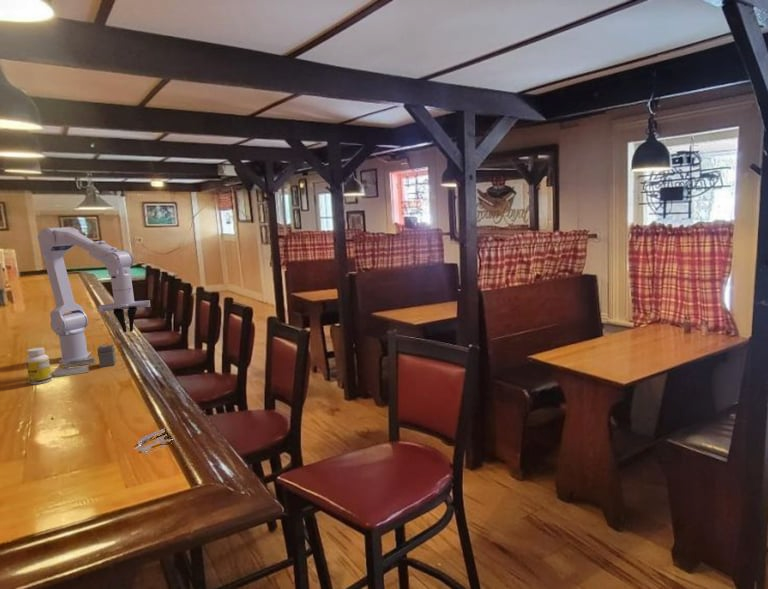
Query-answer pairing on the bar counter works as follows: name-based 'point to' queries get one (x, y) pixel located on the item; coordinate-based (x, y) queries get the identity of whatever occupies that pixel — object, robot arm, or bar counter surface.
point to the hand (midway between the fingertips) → (128, 331)
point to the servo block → (106, 355)
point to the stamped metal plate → (148, 438)
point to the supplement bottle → (38, 366)
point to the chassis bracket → (65, 370)
